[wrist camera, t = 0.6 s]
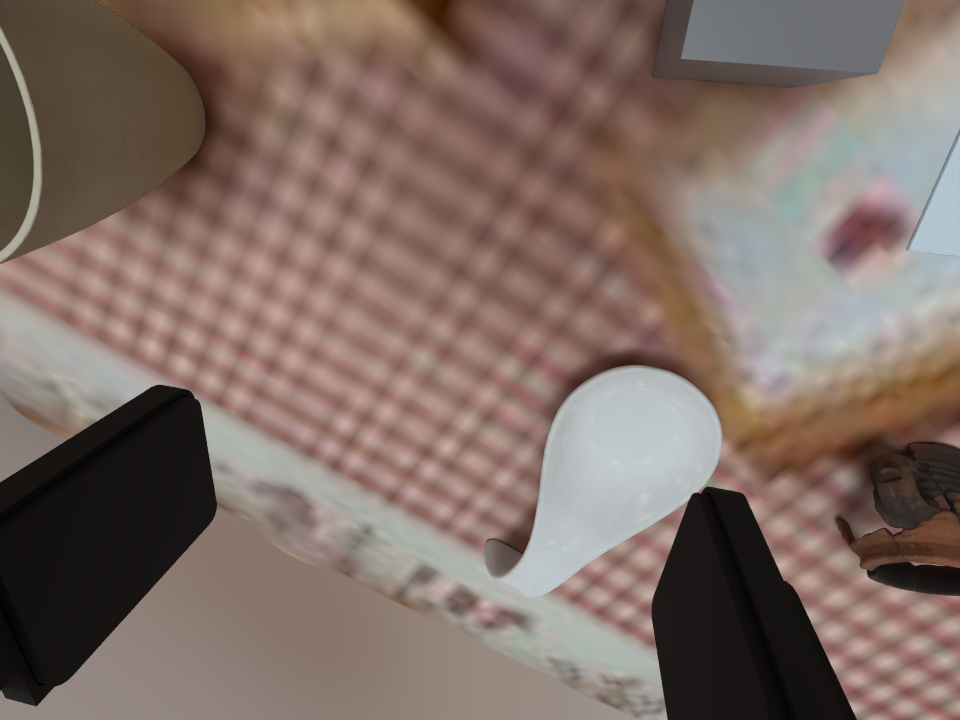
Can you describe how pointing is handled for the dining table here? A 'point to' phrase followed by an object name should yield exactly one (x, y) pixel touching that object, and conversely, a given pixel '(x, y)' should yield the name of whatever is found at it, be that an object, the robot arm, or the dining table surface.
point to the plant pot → (84, 119)
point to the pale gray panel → (942, 212)
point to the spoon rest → (611, 472)
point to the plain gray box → (774, 40)
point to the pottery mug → (914, 521)
